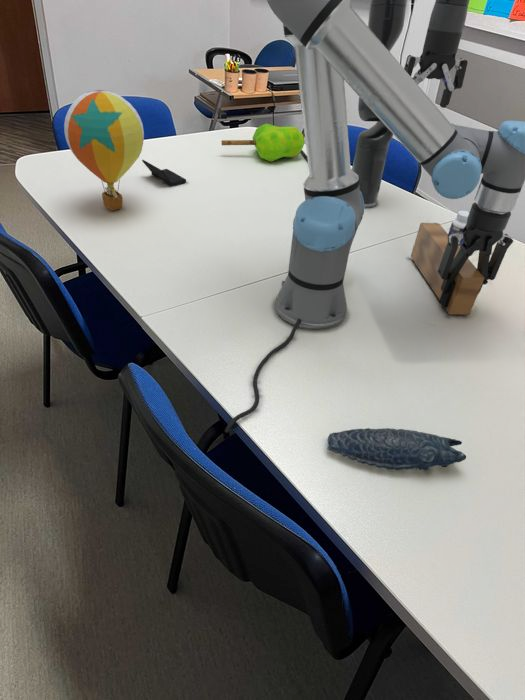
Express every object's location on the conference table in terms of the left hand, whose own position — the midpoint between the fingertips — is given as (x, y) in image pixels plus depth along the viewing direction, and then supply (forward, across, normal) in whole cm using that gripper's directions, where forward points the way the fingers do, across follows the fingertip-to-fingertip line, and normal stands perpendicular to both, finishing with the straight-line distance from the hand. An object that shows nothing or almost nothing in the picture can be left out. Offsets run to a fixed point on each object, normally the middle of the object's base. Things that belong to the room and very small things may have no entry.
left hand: (454, 304), depth 117 cm
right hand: (-32, +3, -37) cm, 49 cm away
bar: (+1, 0, -10) cm, 10 cm away
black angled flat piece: (+3, +67, -72) cm, 98 cm away
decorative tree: (+2, +33, -97) cm, 102 cm away
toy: (+3, +80, -50) cm, 94 cm away
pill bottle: (+1, -14, -32) cm, 35 cm away
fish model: (+1, +28, +41) cm, 50 cm away
